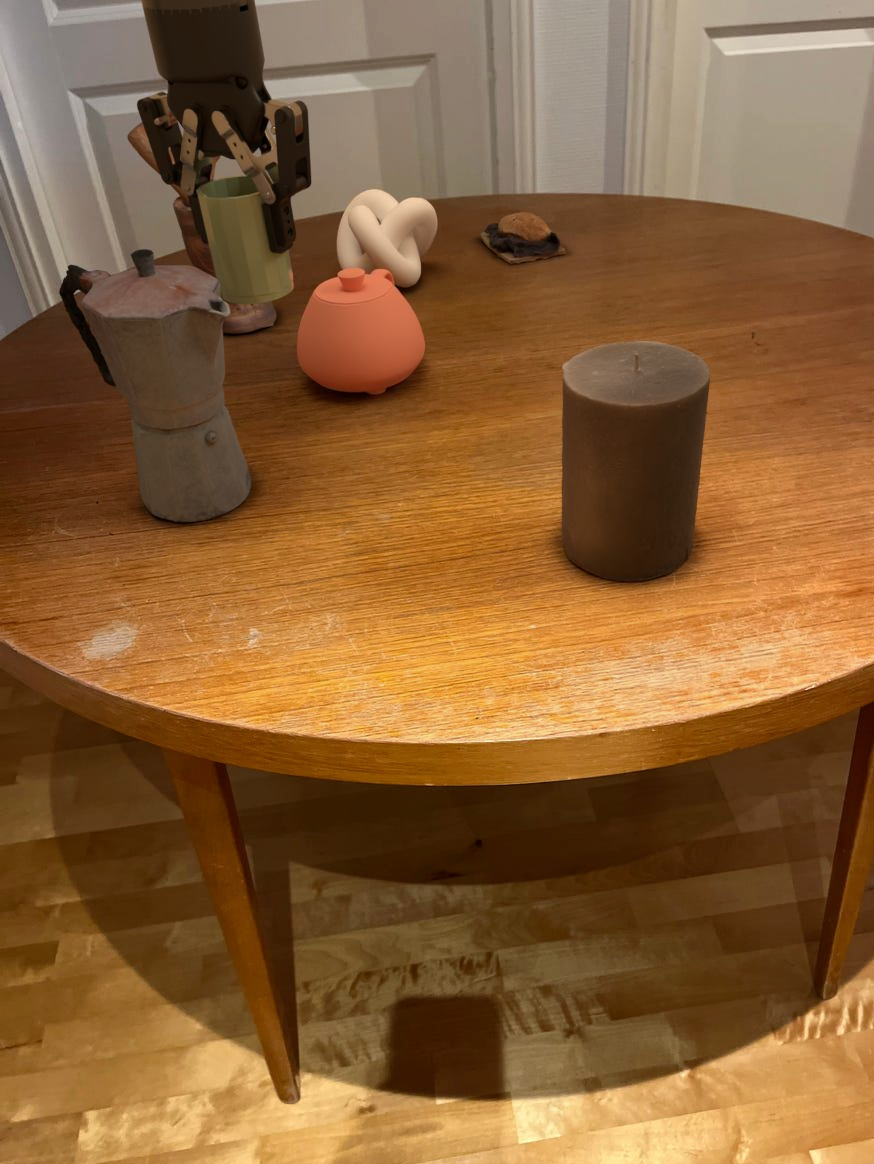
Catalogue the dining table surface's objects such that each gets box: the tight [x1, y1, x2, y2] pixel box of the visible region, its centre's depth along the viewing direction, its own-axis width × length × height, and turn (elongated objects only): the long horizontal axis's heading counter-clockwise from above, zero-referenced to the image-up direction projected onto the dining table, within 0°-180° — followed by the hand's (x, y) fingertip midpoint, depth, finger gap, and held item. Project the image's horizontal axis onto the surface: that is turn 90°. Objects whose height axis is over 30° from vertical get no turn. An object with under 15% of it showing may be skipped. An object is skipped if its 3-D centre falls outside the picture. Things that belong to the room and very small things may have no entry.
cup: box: [196, 174, 295, 304], centre depth 77 cm, size 6×6×8 cm
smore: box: [479, 211, 566, 265], centre depth 120 cm, size 11×8×4 cm
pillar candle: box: [560, 340, 711, 582], centre depth 68 cm, size 10×10×15 cm
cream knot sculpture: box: [336, 188, 438, 289], centre depth 112 cm, size 11×12×9 cm
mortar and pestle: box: [126, 121, 278, 334], centre depth 101 cm, size 12×9×20 cm
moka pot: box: [58, 248, 253, 523], centre depth 74 cm, size 10×15×20 cm, turn 70°
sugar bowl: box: [296, 268, 426, 395], centre depth 93 cm, size 12×14×10 cm
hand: (248, 245), depth 77 cm, fingers closed on cup, 6 cm apart
